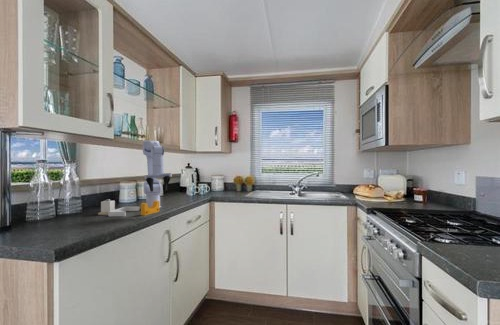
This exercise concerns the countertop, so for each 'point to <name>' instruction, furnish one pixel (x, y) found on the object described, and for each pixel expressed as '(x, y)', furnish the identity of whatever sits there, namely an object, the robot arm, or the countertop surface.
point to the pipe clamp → (150, 210)
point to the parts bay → (123, 211)
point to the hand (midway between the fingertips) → (158, 190)
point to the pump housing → (107, 207)
